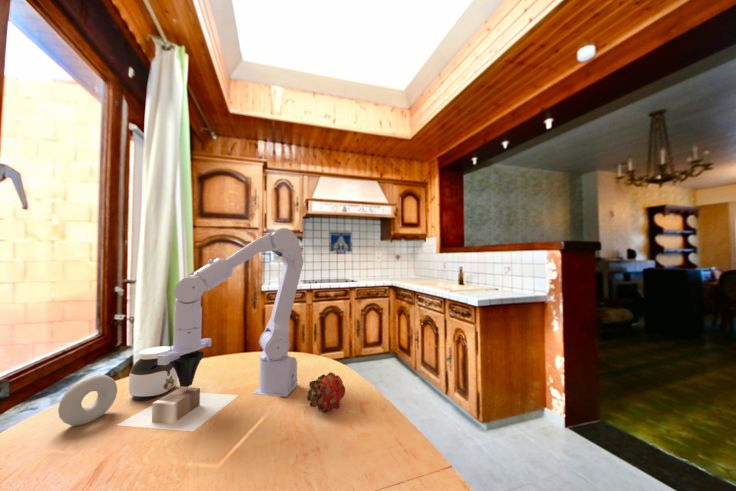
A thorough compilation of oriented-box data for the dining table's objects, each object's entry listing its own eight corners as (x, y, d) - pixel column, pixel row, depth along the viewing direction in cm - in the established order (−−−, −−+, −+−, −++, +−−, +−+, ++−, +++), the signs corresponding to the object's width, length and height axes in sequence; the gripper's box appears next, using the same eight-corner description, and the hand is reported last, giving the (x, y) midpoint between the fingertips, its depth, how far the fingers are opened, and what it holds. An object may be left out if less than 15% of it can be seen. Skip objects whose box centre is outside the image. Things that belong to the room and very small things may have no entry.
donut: (62, 437, 57) (65, 386, 58) (52, 434, 58) (55, 384, 59) (120, 412, 66) (122, 368, 67) (110, 410, 68) (112, 367, 68)
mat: (239, 397, 74) (239, 395, 74) (193, 433, 58) (193, 431, 58) (176, 393, 76) (176, 391, 76) (115, 427, 60) (116, 425, 60)
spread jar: (143, 406, 69) (145, 357, 70) (113, 399, 73) (115, 353, 74) (188, 385, 81) (190, 344, 82) (160, 380, 84) (161, 340, 85)
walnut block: (200, 388, 69) (173, 404, 61) (199, 405, 69) (172, 423, 61) (181, 387, 70) (152, 403, 62) (180, 403, 69) (151, 422, 61)
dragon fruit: (312, 429, 62) (331, 410, 73) (343, 407, 61) (357, 391, 73) (293, 393, 64) (315, 379, 76) (323, 371, 64) (340, 361, 75)
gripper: (194, 321, 76) (193, 373, 76) (145, 334, 62) (143, 398, 61) (219, 321, 75) (217, 374, 75) (175, 335, 61) (172, 400, 60)
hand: (186, 385), depth 68 cm, fingers closed
